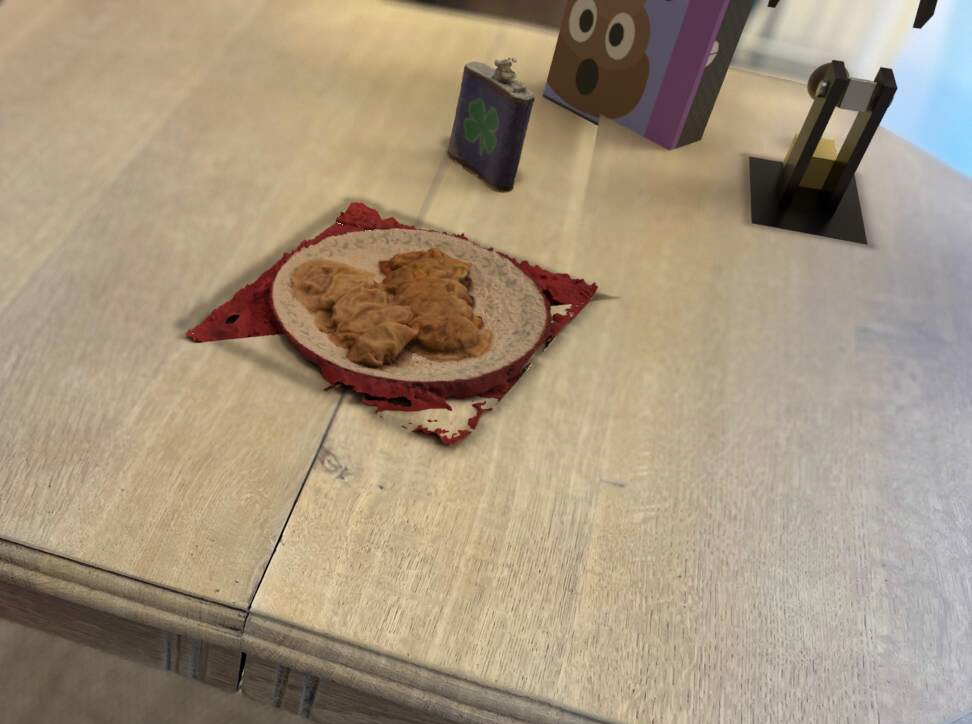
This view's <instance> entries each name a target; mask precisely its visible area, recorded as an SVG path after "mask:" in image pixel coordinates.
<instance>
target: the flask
mask: <svg viewBox="0 0 972 724" xmlns="http://www.w3.org/2000/svg"><path fill="white" fill-rule="evenodd" d="M517 62H518V60H517V58H513V57H512V58H511V57H508V58H507V59H506V58H503V59H500V60H499V59H495V60H494V66H495V67H496V68H495V67H492V66H490V65H488V64H486V63H483V62H478V61H471V62H468V63H466V64H465V65H464V66H463V72H462V77H461V79H462V80H461V84H460V89H459V94H458V99H457V105H456V109H455V114H454V120H453V124H452V128H451V132H450V137H449V140H448V145H447V149H446V154H447V155H448V157H449V158H450V160H451V161H452V162H454V163H458V165H460V166H461V167H462V168H463V169H464V170H465V171H466V172H468V173H469V174H472V175H476V176H477V179H479V180H482V181H483V182H484V184H485V185H487V186H488V187H489V188H491V190H493V191H498V192H501V193H504V194H505V193H508V192H511V191H513V190H514V187H515V182H516V177H517V174H518V168H519V165H520V161H521V157H522V153H523V148H524V143H525V140H526V135H527V131H528V126H529V123H530V119H531V114H532V111H533V107H534V103H535V100H536V99H535V97H536V96H535V94H534V93H533V91H531V90H530V89H528V88H527V85H526V84H525V83H523V82H522V81H518V79H517V77H518V76H517V73H516V71H514V70H512V69H511V67H512V66H513V63H515V64H516V63H517ZM516 79H517V80H516Z"/></svg>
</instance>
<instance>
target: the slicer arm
mask: <svg viewBox="0 0 972 724" xmlns="http://www.w3.org/2000/svg"><path fill="white" fill-rule="evenodd" d="M830 64H831V62H826V63H823V64H821V65H820V66H818V67H817V68H815V69H814V70H813V72H812V73H811V74H810V76H809V77H808V79H807V83H806V84H807V85H806V89H807V93H808V95H809V97H810V98H811V99H812V100H813V101H814V100H815V97H816V96H815V95H816V91H817V88H818V85H819V83H820V82H821V81H822V80H824V77H825V75H826V73H827V71H828V69H829V66H830ZM845 69H846V74H847V79H848V81H847V84H846V86H845V88H844V90H843V92H842V94H841V96H840V99H839V101H838V103H837V105H836V107H835V108H838V109H841V110H847V111H853V112H866V109H867V107H868V105H869V102H870V100H871V97H872V95H873V92H874V90H875V88H876V85H877V83H876V82H873V81H874V80H871V79H863V78H858V77H851V76H850V72H849V70H848V69H847V67H845Z"/></svg>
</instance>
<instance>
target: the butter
mask: <svg viewBox="0 0 972 724" xmlns="http://www.w3.org/2000/svg"><path fill="white" fill-rule="evenodd" d="M798 135H799V133H795V134H794V137H793V139H792V142H791V143H790V146H789V148H788V151H787V153H786V155H785V157H784V159H783V161H782V162H783V168H784V166H785V164H786V162H787V160H788V157H789V155H790V153H791V151H792V149H793V146H794V144H795V142H796V140H797V137H798ZM837 155H838V152H837V147H836V140H835V139H829V138H824V137H821V139H820V141H819V144H818V146H817V148H816V150H815V152H814V154H813V156H812V159H811V161H810V163H809V165H808V167H807V169H806V171H805V174H804V176H803V178H802V180H801V182H800V184H799V186H801V187H807V188H813V189H818V190H821V188H822V186H823V184H824V182H825V180H826V178H827V176H828V174H829V172H830V170H831V168H832V166H833V164H834V162H835V160H836V158H837Z"/></svg>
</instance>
